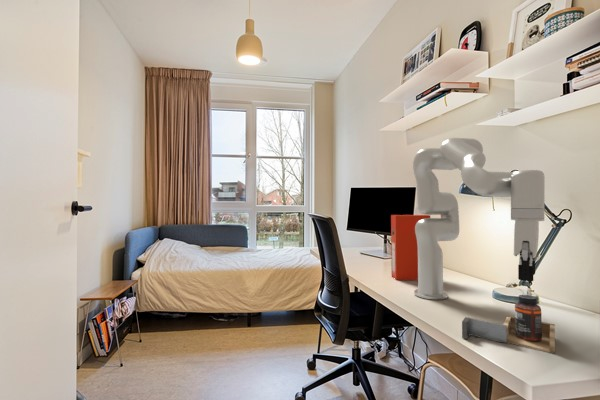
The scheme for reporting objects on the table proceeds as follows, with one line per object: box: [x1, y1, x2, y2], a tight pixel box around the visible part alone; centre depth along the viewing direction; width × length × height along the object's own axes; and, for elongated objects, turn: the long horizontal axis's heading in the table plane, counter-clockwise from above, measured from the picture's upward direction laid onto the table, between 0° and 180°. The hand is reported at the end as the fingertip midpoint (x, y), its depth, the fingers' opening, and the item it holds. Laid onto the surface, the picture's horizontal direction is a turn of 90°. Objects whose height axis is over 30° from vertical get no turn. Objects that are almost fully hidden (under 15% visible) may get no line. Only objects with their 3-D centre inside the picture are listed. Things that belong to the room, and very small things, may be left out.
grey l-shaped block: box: [461, 316, 508, 344], centre depth 85 cm, size 4×10×4 cm, turn 51°
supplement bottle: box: [514, 294, 543, 341], centre depth 86 cm, size 6×6×11 cm
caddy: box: [502, 315, 556, 354], centre depth 86 cm, size 11×11×4 cm
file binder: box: [390, 214, 431, 281], centre depth 158 cm, size 8×17×32 cm, turn 90°
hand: (527, 277), depth 86 cm, fingers open, 9 cm apart
